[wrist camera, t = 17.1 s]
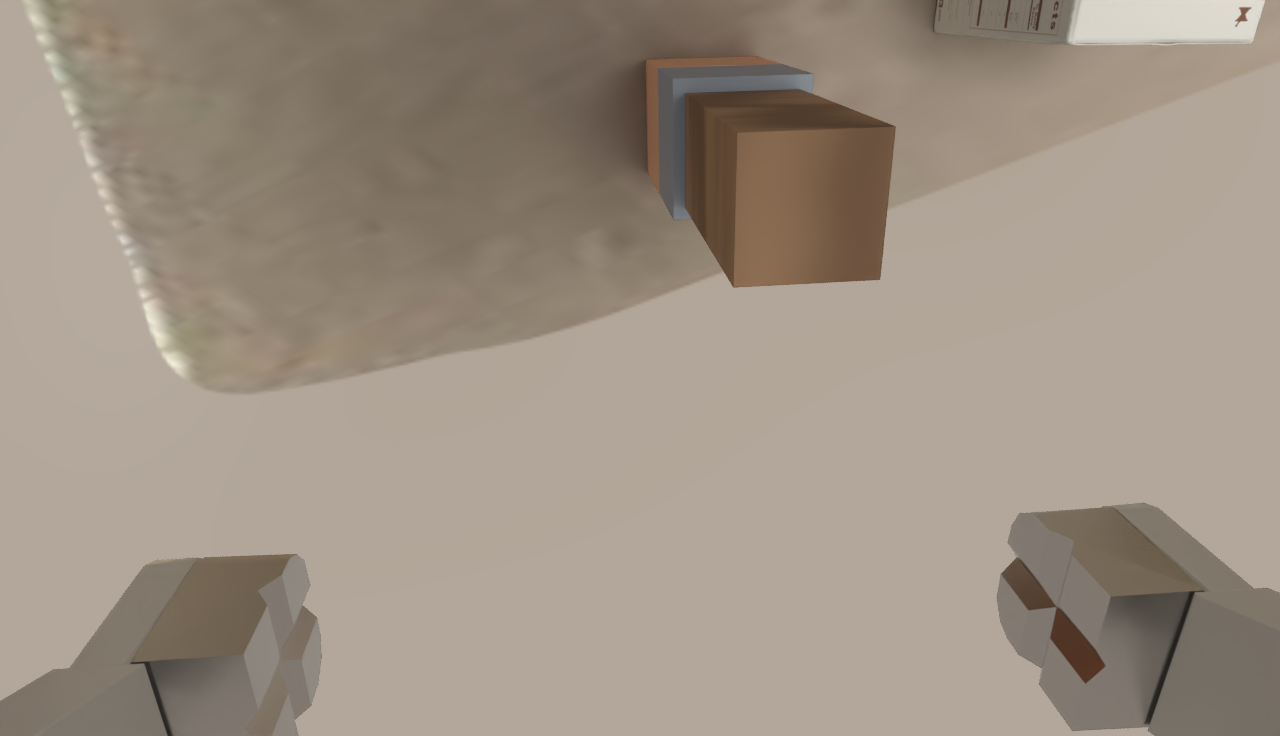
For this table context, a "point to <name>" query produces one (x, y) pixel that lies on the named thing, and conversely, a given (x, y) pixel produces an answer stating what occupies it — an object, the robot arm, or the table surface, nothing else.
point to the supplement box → (1102, 21)
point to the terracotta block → (652, 97)
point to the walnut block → (787, 186)
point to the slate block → (696, 81)
